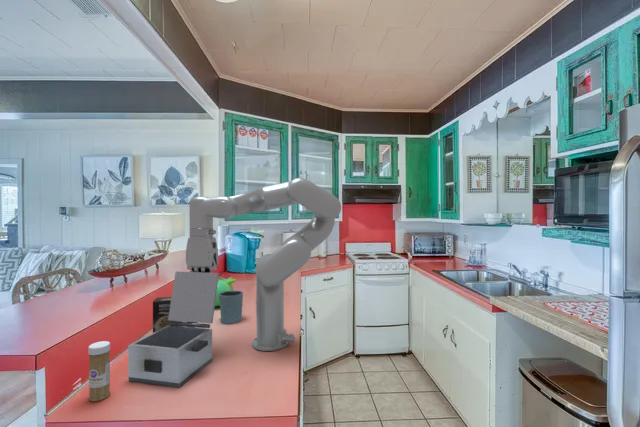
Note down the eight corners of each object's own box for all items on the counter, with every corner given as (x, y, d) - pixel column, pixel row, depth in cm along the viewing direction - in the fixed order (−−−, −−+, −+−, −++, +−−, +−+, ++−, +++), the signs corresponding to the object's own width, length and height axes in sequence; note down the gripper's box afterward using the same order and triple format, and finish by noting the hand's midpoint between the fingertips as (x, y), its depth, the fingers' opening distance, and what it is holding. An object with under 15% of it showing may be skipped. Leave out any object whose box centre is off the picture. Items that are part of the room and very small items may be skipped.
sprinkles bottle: (85, 403, 79) (84, 348, 79) (94, 393, 84) (93, 341, 84) (105, 401, 80) (105, 346, 80) (113, 391, 85) (113, 339, 85)
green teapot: (198, 302, 168) (198, 274, 168) (232, 299, 175) (231, 271, 175) (202, 312, 151) (201, 281, 151) (238, 307, 158) (238, 277, 158)
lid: (210, 328, 101) (212, 328, 102) (217, 272, 105) (219, 273, 107) (166, 325, 104) (170, 324, 106) (175, 271, 109) (178, 271, 110)
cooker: (218, 361, 101) (217, 329, 101) (184, 389, 85) (184, 351, 85) (162, 355, 106) (162, 324, 106) (121, 381, 90) (121, 345, 90)
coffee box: (152, 348, 111) (151, 301, 111) (156, 341, 117) (155, 297, 117) (180, 345, 114) (180, 299, 114) (183, 338, 120) (182, 295, 120)
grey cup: (228, 326, 132) (228, 297, 132) (214, 321, 139) (213, 293, 139) (248, 319, 141) (247, 292, 140) (233, 315, 147) (233, 288, 147)
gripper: (227, 232, 112) (227, 286, 112) (189, 232, 116) (189, 284, 116) (215, 234, 105) (215, 291, 105) (175, 233, 108) (175, 288, 108)
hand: (201, 287), depth 110 cm, fingers closed
